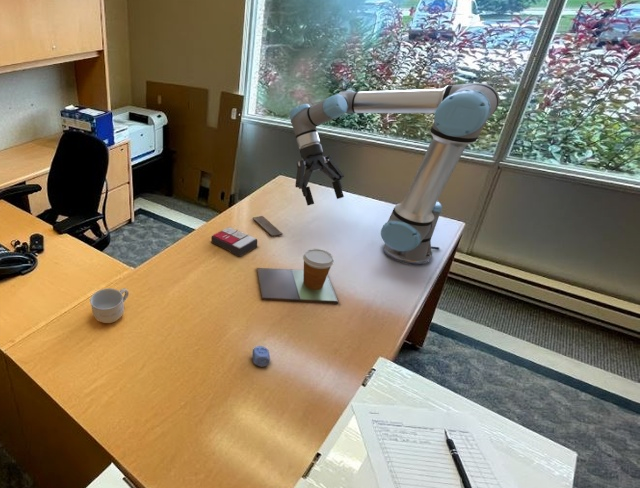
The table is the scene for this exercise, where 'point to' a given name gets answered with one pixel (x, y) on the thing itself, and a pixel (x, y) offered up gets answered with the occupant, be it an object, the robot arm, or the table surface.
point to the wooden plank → (267, 226)
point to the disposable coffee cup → (316, 268)
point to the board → (292, 287)
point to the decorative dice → (261, 356)
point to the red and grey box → (234, 241)
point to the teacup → (108, 304)
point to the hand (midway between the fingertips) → (325, 201)
